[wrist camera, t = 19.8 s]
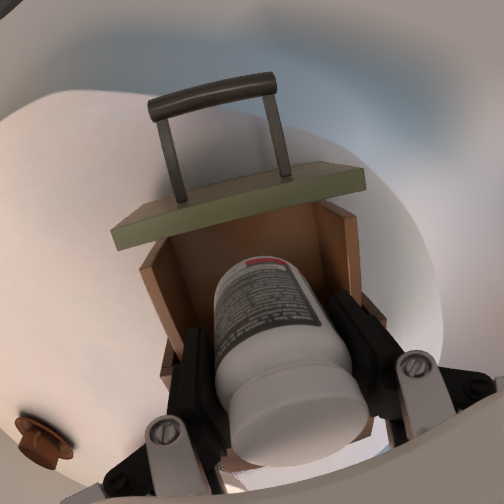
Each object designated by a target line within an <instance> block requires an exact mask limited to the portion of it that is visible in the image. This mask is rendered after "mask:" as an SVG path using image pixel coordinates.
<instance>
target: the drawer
mask: <svg viewBox="0 0 504 504" xmlns="http://www.w3.org/2000/svg"><path fill="white" fill-rule="evenodd" d="M276 93H277V83H276V79H275V76H274V74H273V73H272V72H264V73H258V74H251V75H246V76H240V77H235V78H230V79H225V80H221V81H216V82H211V83H207V84H203V85H199V86H196V87H192V88H188V89H184V90H181V91H177V92H174V93H170V94H167V95H164V96H161V97H158V98H154V99H151V100H149V101H148V104H147V105H148V111H149V115H150V118H151V120H152V121H153V122H154V123H156V124H157V128H158V132H159V137H160V141H161V145H162V149H163V153H164V157H165V161H166V165H167V168H168V172H169V176H170V180H171V183H172V187H173V191H174V194H175V195H173V196H169V197H166V198H163V199H159V200H156V201H153V202H149V203H146V204H143V205H142V206H141V207H139V208H138V209H137V210H135V211H134V212H133V213H131V214H130V215H129V216H128V217H126V218H125V219H124V220H122V221H121V222H120V223H119V224H117V225H116V226H115V227H114V228H112V229H111V230H110V231H111V234H112V237H113V240H114V243H115V245H116V248H117V251H120V250H124V249H127V248H131V247H134V246H138V245H141V244H145V243H148V242H152V241H156V240H157V242H156V243H155V245H154V246H153V248H152V249H151V251H150V253H149V254H148V256H147V257H146V259H145V261H144V262H143V264H142V265H141V267H140V269H139V271H140V274H141V276H142V279H143V281H144V284H145V286H146V289H147V291H148V293H149V296H150V298H151V300H152V303H153V305H154V307H155V310H156V312H157V314H158V316H159V319H160V321H161V323H162V325H163V327H164V330H165V332H166V334H167V336H168V338H169V340H170V342H171V344H172V346H173V348H174V350H175V352H176V354H177V356H178V358H179V360H180V362H182V355H183V347H184V340H185V333H186V330H188V329H193V328H198V327H200V328H201V329H202V330H206V331H207V333H208V335H209V338H210V340H211V343H212V345H213V348H214V297H215V292H216V288H217V286H218V283H219V282H220V280H221V278H222V277H223V276H224V275H225V273H226V272H227V271H229V270H230V269H231V268H232V267H233V266H235V265H236V264H238V263H239V262H241V261H243V260H246V259H249V258H252V257H257V256H272V257H277V258H281V259H283V260H286V261H287V262H289V263H291V264H292V265H294V266H295V267H296V268H297V269H298V270H299V271H300V272H301V273H302V275H303V276H304V277H305V279H306V281H307V283H308V284H309V286H310V288H311V289H312V291H313V293H314V294H315V296H316V297H317V299H318V301H319V302H320V304H321V305H322V307H323V309H324V310H325V312H326V313H327V315H328V317H329V318H330V314H329V303H328V299H329V298H331V297H332V294H333V293H336V292H339V291H342V290H347V291H348V292H349V294H350V295H351V296H352V297H353V298H354V300H355V301H356V302H357V303H358V304H359V306H360V307H361V308H362V298H361V272H360V255H359V241H358V230H357V219H356V216H355V215H354V214H352V213H350V212H348V211H346V210H344V209H342V208H341V207H339V206H337V205H335V204H333V203H331V202H329V201H327V200H325V199H326V198H331V197H336V196H341V195H345V194H350V193H355V192H360V191H365V190H366V183H365V175H364V169H363V168H358V167H353V166H347V165H341V164H335V163H328V162H322V161H319V162H313V163H308V164H302V165H297V166H292V167H290V163H289V158H288V154H287V149H286V144H285V140H284V135H283V130H282V126H281V122H280V117H279V113H278V109H277V105H276V100H275V97H274V94H276ZM261 96H263V97H262V99H263V103H264V107H265V111H266V115H267V120H268V124H269V128H270V133H271V137H272V142H273V146H274V151H275V156H276V160H277V165H278V169H277V170H273V171H268V172H263V173H259V174H254V175H250V176H246V177H242V178H237V179H233V180H229V181H225V182H221V183H217V184H213V185H209V186H205V187H202V188H198V189H194V190H191V191H187V192H186V189H185V185H184V182H183V178H182V174H181V170H180V166H179V162H178V159H177V155H176V151H175V147H174V143H173V139H172V134H171V130H170V126H169V122H168V119H169V118H172V117H175V116H179V115H182V114H186V113H189V112H193V111H197V110H200V109H204V108H208V107H213V106H217V105H221V104H225V103H230V102H235V101H239V100H244V99H250V98H255V97H261Z"/></svg>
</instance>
